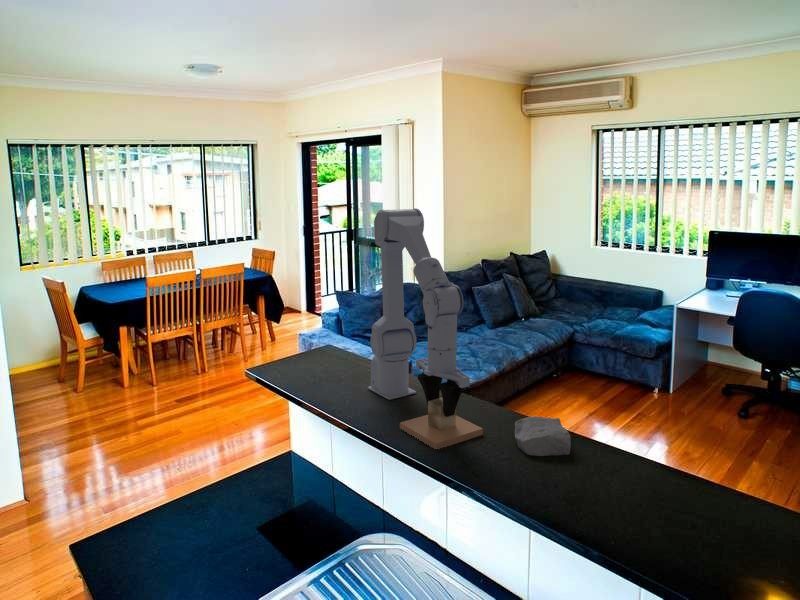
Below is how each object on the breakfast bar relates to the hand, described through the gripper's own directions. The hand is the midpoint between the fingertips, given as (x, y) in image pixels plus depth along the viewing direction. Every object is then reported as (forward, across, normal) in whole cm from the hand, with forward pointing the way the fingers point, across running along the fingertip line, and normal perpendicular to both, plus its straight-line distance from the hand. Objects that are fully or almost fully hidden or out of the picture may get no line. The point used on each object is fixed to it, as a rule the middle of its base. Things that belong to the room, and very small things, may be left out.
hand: (441, 411), depth 122 cm
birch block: (+3, 0, 0) cm, 3 cm away
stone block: (+5, +15, +13) cm, 20 cm away
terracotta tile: (+5, 0, 0) cm, 5 cm away
